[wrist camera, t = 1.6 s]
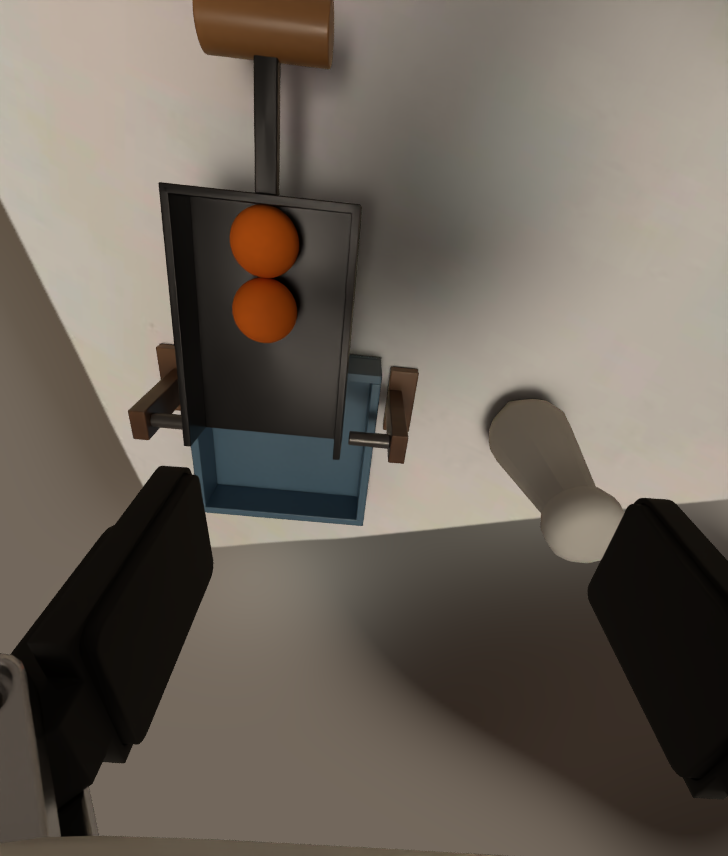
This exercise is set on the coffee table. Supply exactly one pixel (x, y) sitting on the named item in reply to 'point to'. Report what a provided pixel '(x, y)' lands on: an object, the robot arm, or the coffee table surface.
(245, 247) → the ball
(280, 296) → the ball
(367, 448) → the tray
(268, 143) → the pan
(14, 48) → the coffee table surface
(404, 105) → the coffee table surface
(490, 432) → the salt shaker
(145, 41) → the coffee table surface
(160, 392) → the stand
